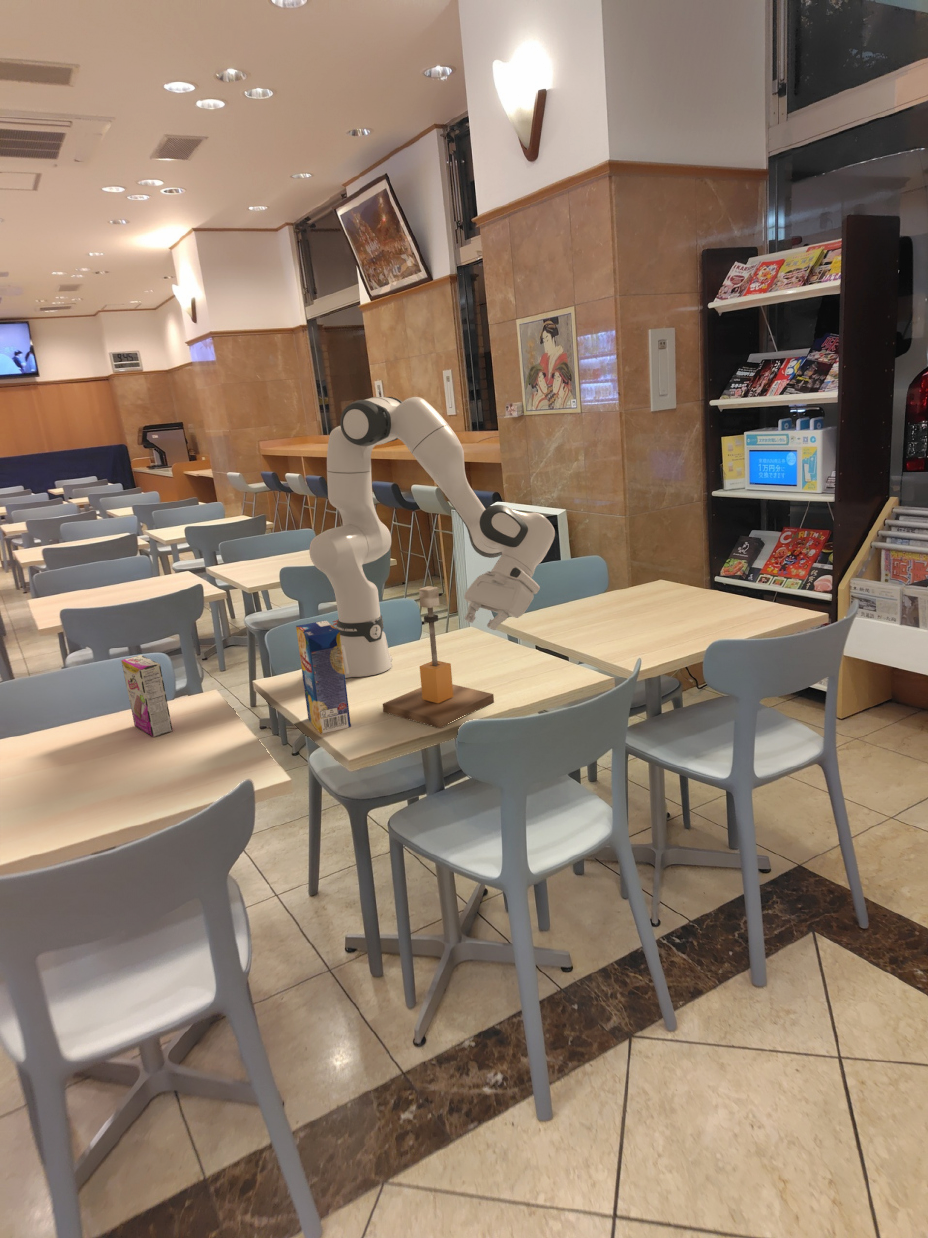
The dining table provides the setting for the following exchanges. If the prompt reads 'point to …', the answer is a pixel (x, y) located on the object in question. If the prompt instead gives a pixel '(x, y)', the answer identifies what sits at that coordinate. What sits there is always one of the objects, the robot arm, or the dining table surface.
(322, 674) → the blue food box
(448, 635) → the dining table surface
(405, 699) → the cord stand
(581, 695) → the dining table surface
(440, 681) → the marker sleeve
